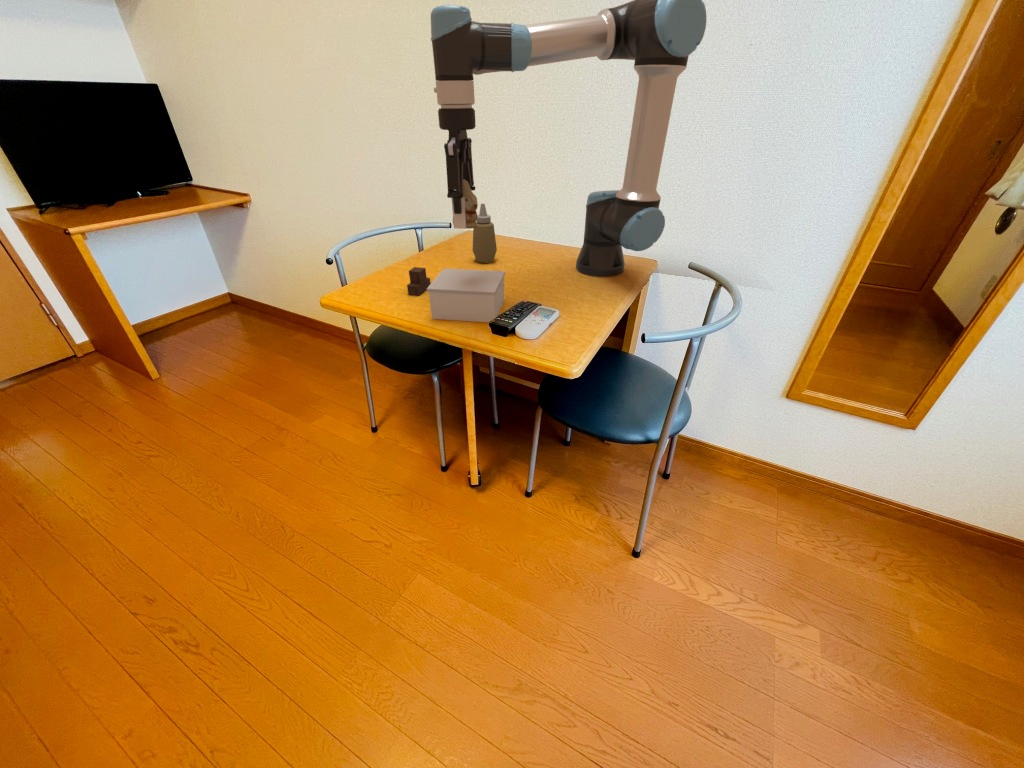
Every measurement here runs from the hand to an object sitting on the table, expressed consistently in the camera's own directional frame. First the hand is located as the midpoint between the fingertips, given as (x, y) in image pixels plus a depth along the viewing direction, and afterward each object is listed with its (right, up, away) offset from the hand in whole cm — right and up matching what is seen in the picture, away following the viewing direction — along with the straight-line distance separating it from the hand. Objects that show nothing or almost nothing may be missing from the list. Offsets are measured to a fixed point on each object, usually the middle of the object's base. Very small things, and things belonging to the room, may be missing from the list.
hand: (464, 224), depth 100 cm
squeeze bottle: (+2, +4, +45) cm, 45 cm away
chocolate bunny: (0, 0, 0) cm, 1 cm away
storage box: (0, -18, +12) cm, 21 cm away
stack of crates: (-14, -11, +23) cm, 29 cm away
